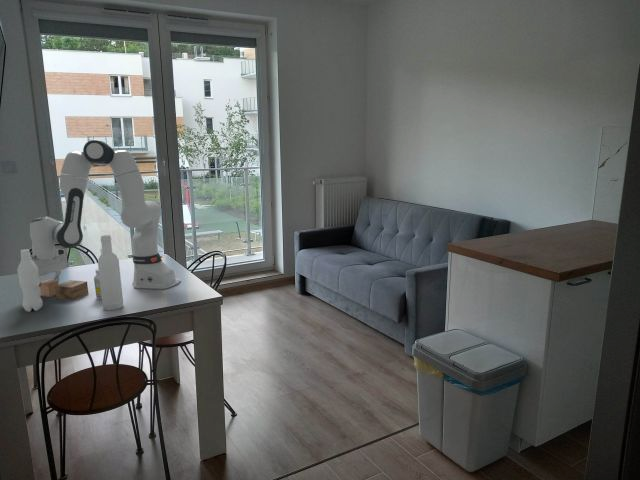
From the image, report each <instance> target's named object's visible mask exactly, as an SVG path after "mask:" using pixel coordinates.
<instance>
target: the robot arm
mask: <svg viewBox="0 0 640 480" xmlns="http://www.w3.org/2000/svg"><path fill="white" fill-rule="evenodd" d="M105 166H108V167H110V169H111V171H112V172H113V176H114V179H115V180H116V183H117V187H118V189H119V192H120V196H121V204H122V206H121V207H122V209H121V210H122V211H121V213H120V220H121V222H122V224H123V225H124V226H126V227H127V228H130V229H131V228H132V229H134V234H133V235H132V238H131V242H132V252H133V254H132V262H133V266H134V267H133V281H132V286H133V289H151V290H154V289H155V290H164V289H168V288H172V287H174V286H177V285H178V284H179V283H181V278H176V274H175V270H174V269H173V268H171V267H170V266H169V265H168V264H167V263H165V262H164V261H163V260H162V258H164V255H163V254H162V255H160V253H159V251H158V250H159V249H158V230H159V223H160V218H161V216H162V213H163V210H162V207H161V205H160V204H159V203H158V202H156V201H154V200H146V199H145V189H146V186H145V182H144V180H143V177H142V174H141V171H140V169H139V166H138V164H137V162H136V160H135V158H134V156H133V155H132V153H131V152H130V151H129V150H126V149H120V150H114V149H113V148H112V147H111V146H110V145H109V144H108V143H107V142H105V141H103V140H101V139H97V138H96V139H95V138H93V139H90V140H89V141H87V142H86V143H85V144H84V146H83V148H82V151H70V152H68V153H66V156H65V159H64V160H63V164H62V166H61V170H60V174H59V175H60V176H59V190H60V192H61V193H62V195H63V197H64V199H65V203H66V205H65V206H66V207H65V212H64V220H63V221H61V220H57V219H54V218H52V217H50V216H49V215H48V216H45V215H43V216H38V217H35V218H33V219H32V220H31V221H30V223H29V237H30V240H31V244H32V245H31V251H32V255H31V256H30V257H31V259H32V261H33V262H34V263H35V264H36V266H37V267H38V275H39V278H40V277H43V276H46V275H49V274H53V273H55V275H54V276H53V280H59V281H60V275H61V273H62V271H63V270H66V269H67V268H68V265H69V262H68V258H67V254H66V253H67V252H66V249H73V248H77V247H78V246H79V245H81V244H82V241H83V238H84V234H83V232H82V231H83V230H82V227H81V223H82V221H81V220H82V215H83V207H84V206H83V205H84V199H85V194H86V190H87V185H88V180H89V175H90V171H91V169H92V168H94V167H105ZM56 244H59V245H60V246H61V247H62V248H58V247H56V246H55V245H56ZM64 248H65V249H64ZM41 282H42V281H40V284H39V287H40V286H41Z"/></svg>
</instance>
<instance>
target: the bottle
mask: <svg viewBox="0 0 640 480" xmlns="http://www.w3.org/2000/svg"><path fill="white" fill-rule="evenodd" d="M100 243H101V250H102V252H101V254H100V255H99V257H98V261H97V269H99V277H100V286H101V295H102V299H101V304H102V309H103V310H105V311H115V310H119V309H122V308H124V297H123V287H122V278H121V269H120V268H121V267H120V260H119V258H118V256H117V254H115V253H114V252H113V248H112V236H111V235H110V234H108V235H107V234H106V235H101V236H100Z"/></svg>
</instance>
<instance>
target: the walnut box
mask: <svg viewBox="0 0 640 480" xmlns="http://www.w3.org/2000/svg"><path fill="white" fill-rule="evenodd" d="M88 285H89V284H88V281H85V280H84V281H83V280H73V279H72V280H67V281H65V282H62V283H58V285H56V286H55V292H56V295H55V298H56V300H66V301H75V300H78V299H80V298H83V297H85V296H87V295H89V286H88Z"/></svg>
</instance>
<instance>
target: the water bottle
mask: <svg viewBox="0 0 640 480" xmlns="http://www.w3.org/2000/svg"><path fill="white" fill-rule="evenodd" d="M31 257H32V254H31V253H30V249H21V250H20V262H19V263H18V265H17V266H18V267H17V270H16V271H17V275H18V276H17V277H18V283H19V287H20V289H21V291H22V297H23V301H22V303H21V305H22V307H23V309H24V310H25V312H28V313H29V312H32V310H34V311H35V312H37V311H39V310H40V309H42V308H43V302H44V301H43V299H42V296H41V294H40V286H39V284H40V282H41V281H40V277H39V275H38V267H37V266H36V264H35V263H34V262H33V261H32V259H31Z"/></svg>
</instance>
